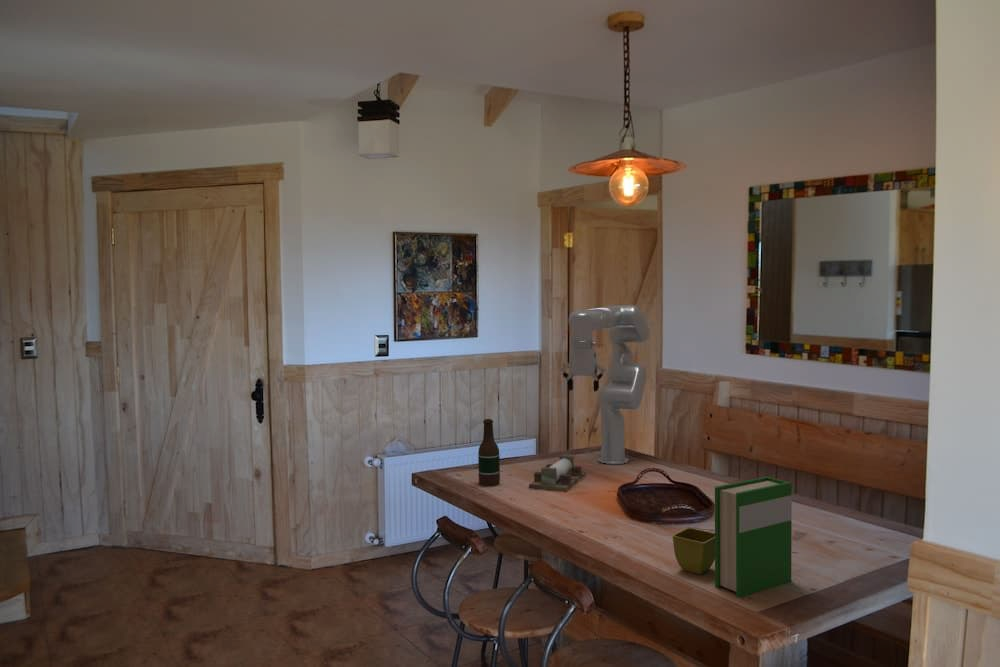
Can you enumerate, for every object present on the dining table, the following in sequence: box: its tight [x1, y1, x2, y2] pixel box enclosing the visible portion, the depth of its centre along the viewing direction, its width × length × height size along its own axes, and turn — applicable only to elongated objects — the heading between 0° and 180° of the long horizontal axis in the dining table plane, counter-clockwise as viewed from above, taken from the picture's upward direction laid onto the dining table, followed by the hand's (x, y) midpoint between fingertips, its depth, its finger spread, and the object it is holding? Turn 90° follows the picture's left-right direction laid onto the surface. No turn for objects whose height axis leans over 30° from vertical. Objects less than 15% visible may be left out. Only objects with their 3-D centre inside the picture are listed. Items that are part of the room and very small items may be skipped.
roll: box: [549, 458, 572, 481], centre depth 281 cm, size 16×6×6 cm, turn 157°
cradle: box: [528, 454, 587, 493], centre depth 281 cm, size 25×14×8 cm, turn 158°
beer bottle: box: [477, 418, 501, 487], centre depth 279 cm, size 8×8×24 cm
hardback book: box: [714, 476, 793, 599], centre depth 180 cm, size 18×7×24 cm, turn 120°
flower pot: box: [672, 527, 715, 575], centre depth 190 cm, size 9×9×9 cm
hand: (583, 390), depth 287 cm, fingers open, 9 cm apart
